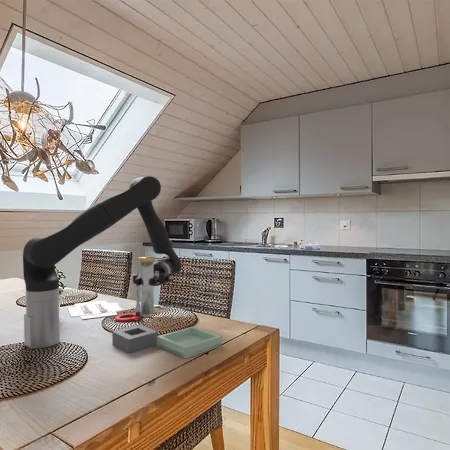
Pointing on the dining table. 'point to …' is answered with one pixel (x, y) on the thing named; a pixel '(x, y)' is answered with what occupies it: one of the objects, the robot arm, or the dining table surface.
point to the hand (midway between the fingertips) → (144, 282)
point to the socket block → (134, 338)
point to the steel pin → (146, 284)
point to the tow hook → (136, 316)
